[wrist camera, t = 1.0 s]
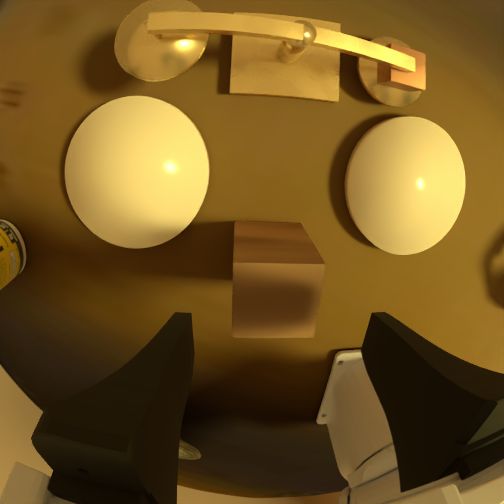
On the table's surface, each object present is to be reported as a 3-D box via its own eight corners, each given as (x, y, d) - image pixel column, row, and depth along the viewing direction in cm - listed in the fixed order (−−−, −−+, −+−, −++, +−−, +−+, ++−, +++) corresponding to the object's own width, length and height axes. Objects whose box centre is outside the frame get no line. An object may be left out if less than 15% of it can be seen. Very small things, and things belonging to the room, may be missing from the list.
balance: (412, 117, 16) (476, 121, 10) (137, 97, 15) (89, 86, 10) (414, 47, 14) (474, 28, 9) (143, 21, 13) (103, -18, 8)
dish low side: (443, 250, 20) (450, 256, 19) (336, 247, 19) (340, 253, 19) (463, 131, 17) (472, 132, 16) (350, 104, 16) (356, 104, 15)
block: (294, 281, 20) (313, 337, 15) (233, 280, 20) (232, 337, 15) (300, 222, 19) (325, 264, 13) (234, 220, 19) (233, 262, 13)
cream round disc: (209, 243, 19) (208, 250, 18) (79, 241, 19) (73, 247, 18) (212, 93, 16) (210, 91, 15) (71, 106, 15) (63, 106, 14)
